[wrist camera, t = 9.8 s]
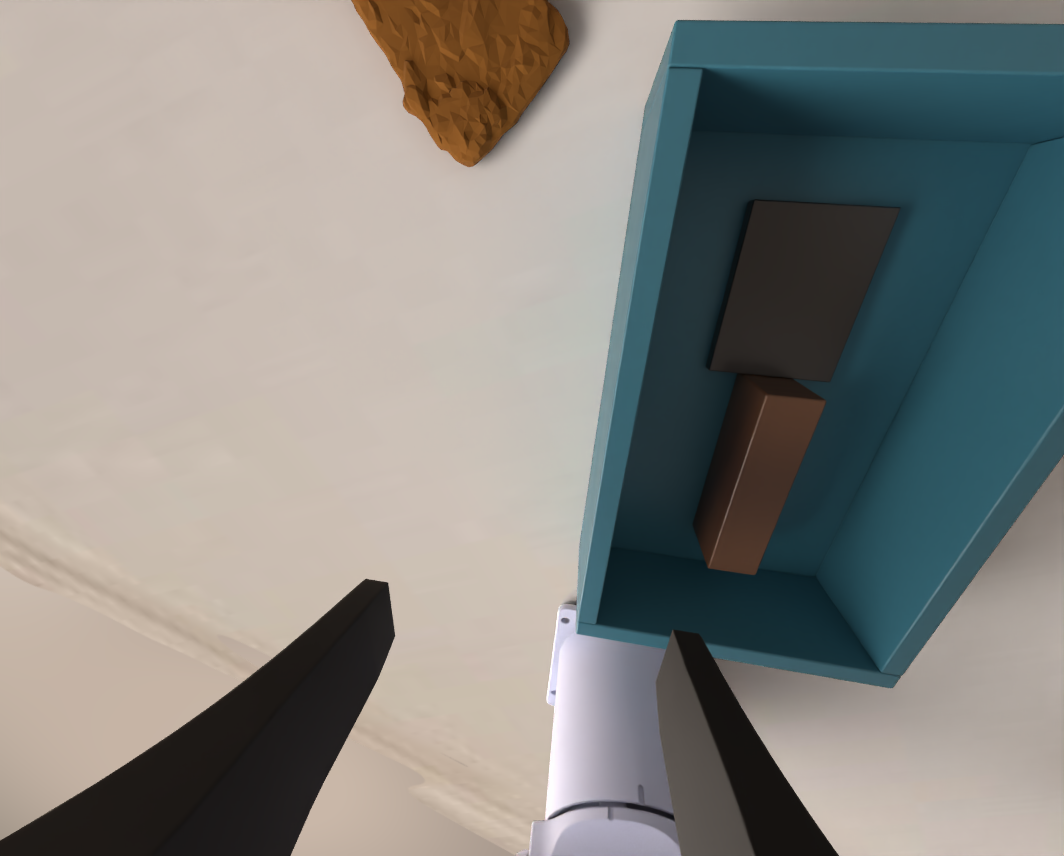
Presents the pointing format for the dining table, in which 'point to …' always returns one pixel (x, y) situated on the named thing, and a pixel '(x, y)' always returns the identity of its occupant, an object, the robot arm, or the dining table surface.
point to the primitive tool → (468, 63)
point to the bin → (871, 349)
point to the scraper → (780, 359)
